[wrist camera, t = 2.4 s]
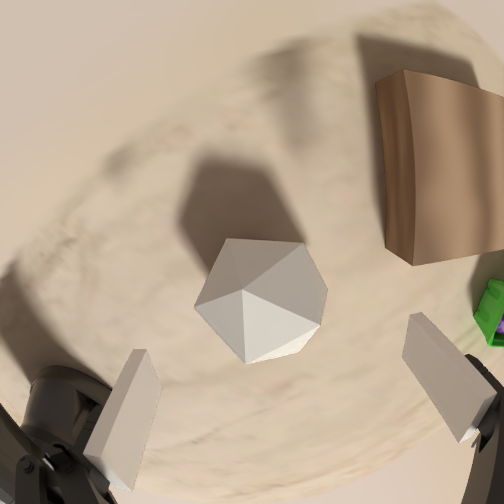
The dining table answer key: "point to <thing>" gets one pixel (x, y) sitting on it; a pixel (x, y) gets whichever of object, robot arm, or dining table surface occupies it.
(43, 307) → the dining table surface
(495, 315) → the fruit basket
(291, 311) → the die
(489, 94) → the walnut block
